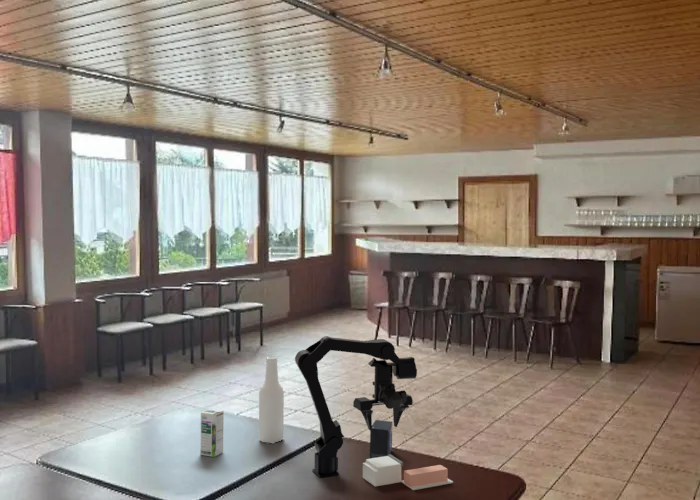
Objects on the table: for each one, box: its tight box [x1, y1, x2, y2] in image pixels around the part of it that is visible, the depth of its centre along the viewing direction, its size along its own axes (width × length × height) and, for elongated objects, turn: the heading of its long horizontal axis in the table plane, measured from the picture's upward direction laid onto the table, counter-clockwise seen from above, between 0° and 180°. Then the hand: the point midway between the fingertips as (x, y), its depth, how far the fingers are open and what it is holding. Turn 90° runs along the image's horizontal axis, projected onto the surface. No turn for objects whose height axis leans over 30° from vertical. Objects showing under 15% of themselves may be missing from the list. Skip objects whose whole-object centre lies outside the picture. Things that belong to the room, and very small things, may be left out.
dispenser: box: [362, 453, 404, 487], centre depth 202 cm, size 10×8×6 cm
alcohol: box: [258, 356, 285, 443], centre depth 238 cm, size 9×9×30 cm
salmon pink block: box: [403, 464, 449, 487], centre depth 199 cm, size 13×4×4 cm, turn 115°
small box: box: [368, 419, 393, 459], centre depth 224 cm, size 11×6×10 cm, turn 168°
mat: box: [400, 478, 454, 491], centre depth 200 cm, size 14×7×1 cm, turn 115°
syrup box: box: [199, 408, 225, 458], centre depth 223 cm, size 6×6×14 cm
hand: (382, 428), depth 210 cm, fingers open, 9 cm apart
